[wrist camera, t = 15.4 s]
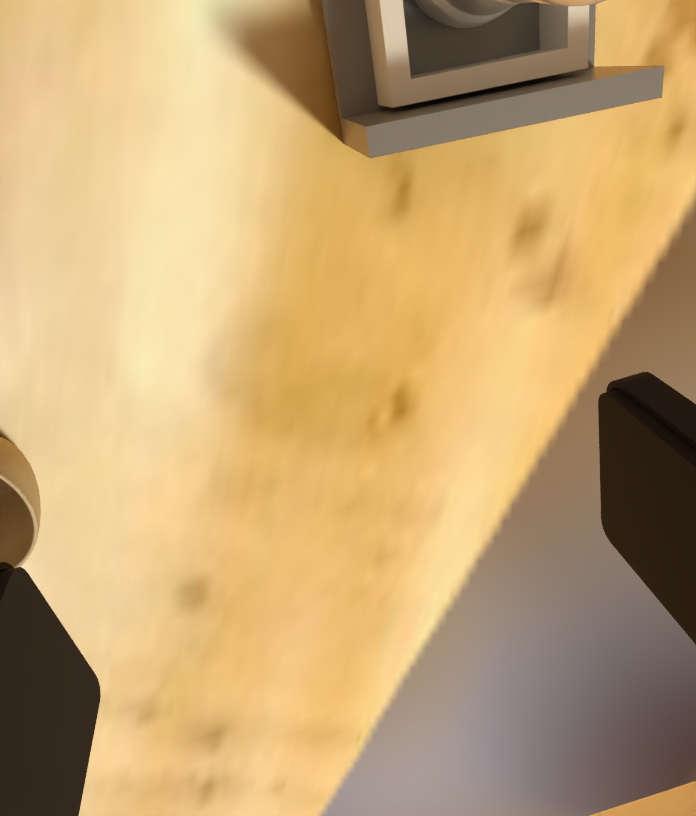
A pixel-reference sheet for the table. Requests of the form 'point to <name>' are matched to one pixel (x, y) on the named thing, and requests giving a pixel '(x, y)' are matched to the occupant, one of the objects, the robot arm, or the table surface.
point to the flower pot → (17, 506)
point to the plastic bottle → (480, 9)
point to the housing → (466, 73)
